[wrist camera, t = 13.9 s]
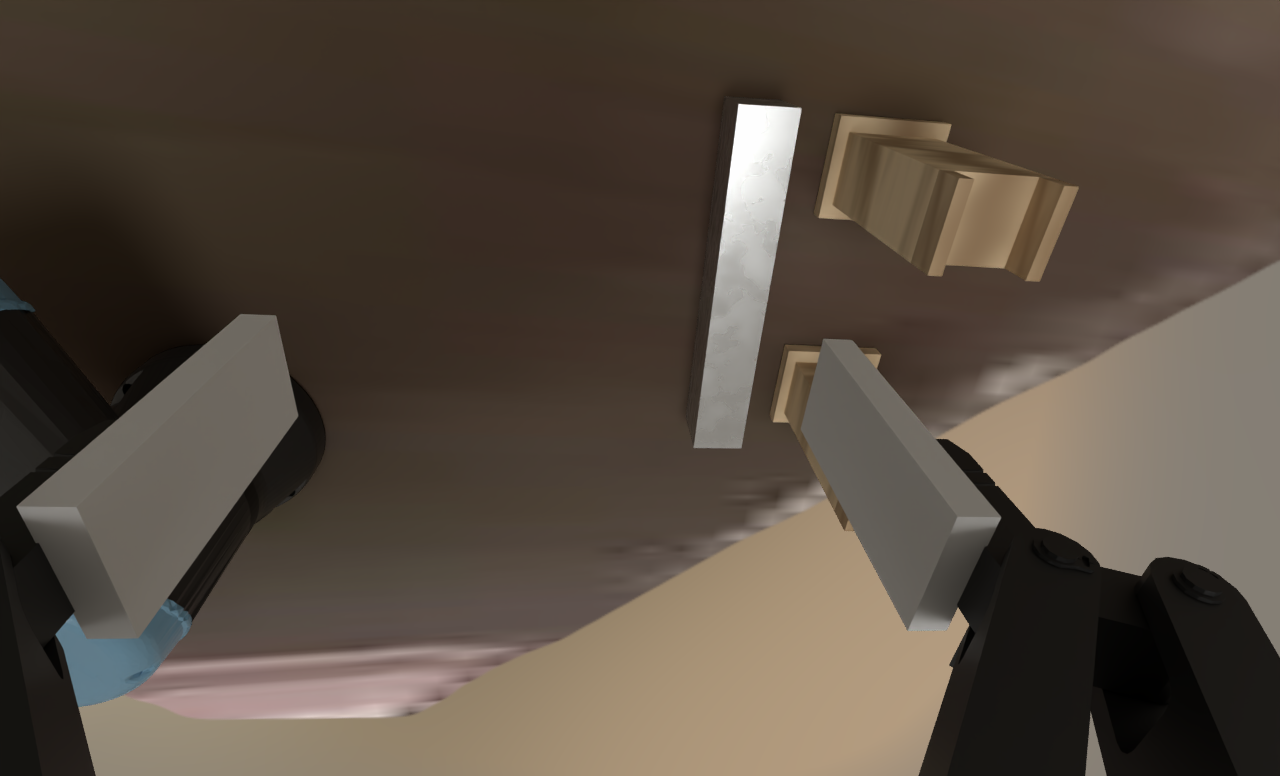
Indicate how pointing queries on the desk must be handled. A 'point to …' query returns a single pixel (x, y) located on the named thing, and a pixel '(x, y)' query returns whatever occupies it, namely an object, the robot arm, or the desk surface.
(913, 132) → the post
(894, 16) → the desk surface
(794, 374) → the post
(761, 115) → the rail
